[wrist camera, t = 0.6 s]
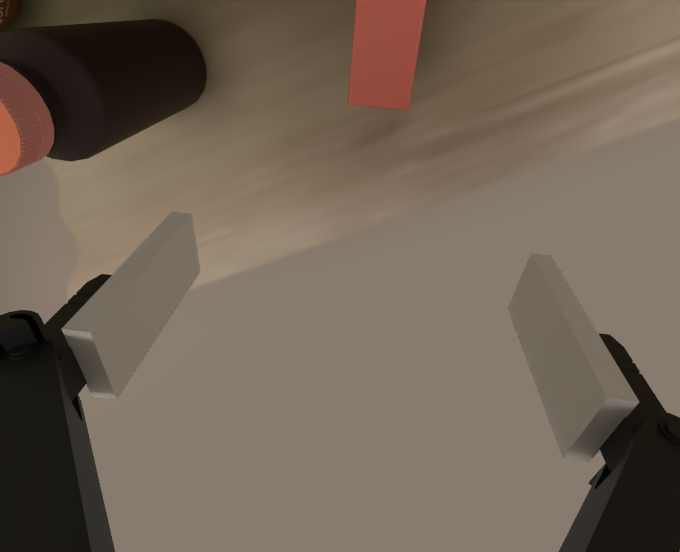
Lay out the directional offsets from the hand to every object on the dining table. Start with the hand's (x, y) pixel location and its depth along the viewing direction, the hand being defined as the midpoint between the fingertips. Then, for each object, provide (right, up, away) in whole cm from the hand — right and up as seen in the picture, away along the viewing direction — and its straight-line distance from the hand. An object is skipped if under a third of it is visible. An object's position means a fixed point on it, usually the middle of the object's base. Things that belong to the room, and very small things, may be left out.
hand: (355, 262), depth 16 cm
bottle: (-15, +17, +19) cm, 30 cm away
